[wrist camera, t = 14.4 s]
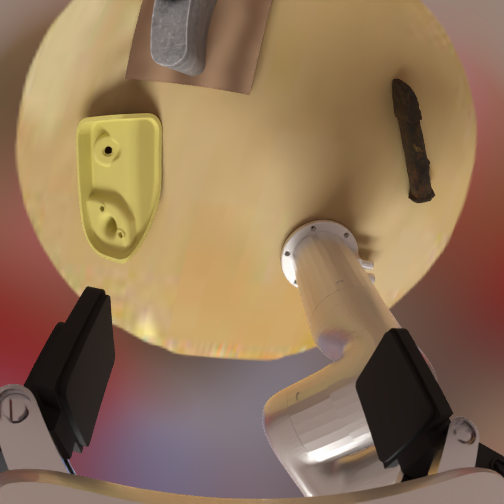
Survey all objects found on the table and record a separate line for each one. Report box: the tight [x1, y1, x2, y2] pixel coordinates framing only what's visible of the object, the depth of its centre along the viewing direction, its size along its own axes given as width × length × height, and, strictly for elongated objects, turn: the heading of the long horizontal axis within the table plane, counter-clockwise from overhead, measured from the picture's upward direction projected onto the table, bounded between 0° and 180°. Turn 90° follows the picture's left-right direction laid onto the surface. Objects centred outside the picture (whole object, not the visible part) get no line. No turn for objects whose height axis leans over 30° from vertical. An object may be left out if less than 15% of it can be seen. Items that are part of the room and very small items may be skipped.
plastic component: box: [76, 113, 162, 264], centre depth 41 cm, size 20×7×10 cm
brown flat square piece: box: [125, 0, 272, 95], centre depth 32 cm, size 16×17×3 cm
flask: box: [150, 0, 217, 76], centre depth 23 cm, size 4×14×18 cm, turn 168°
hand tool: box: [392, 79, 435, 203], centre depth 40 cm, size 19×4×5 cm, turn 18°
